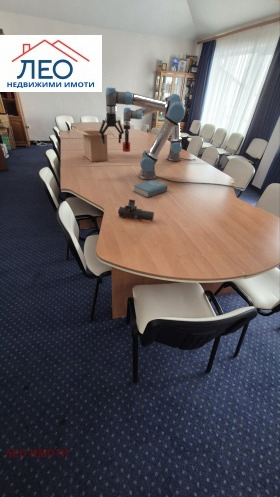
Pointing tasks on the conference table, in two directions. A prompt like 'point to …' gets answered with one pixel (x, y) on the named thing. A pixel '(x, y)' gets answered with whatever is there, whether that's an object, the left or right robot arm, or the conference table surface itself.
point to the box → (94, 144)
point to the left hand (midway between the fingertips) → (111, 143)
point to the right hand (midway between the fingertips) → (126, 147)
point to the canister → (125, 147)
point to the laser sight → (135, 212)
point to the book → (150, 188)
